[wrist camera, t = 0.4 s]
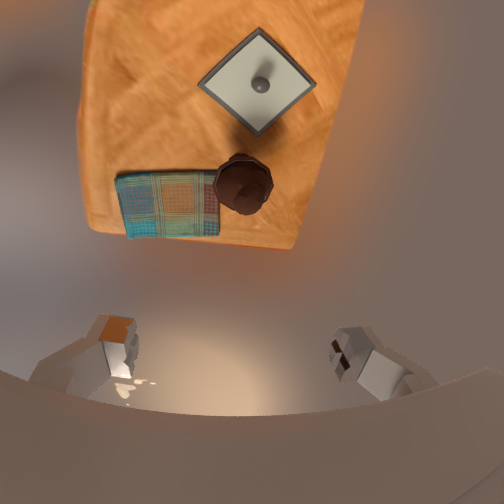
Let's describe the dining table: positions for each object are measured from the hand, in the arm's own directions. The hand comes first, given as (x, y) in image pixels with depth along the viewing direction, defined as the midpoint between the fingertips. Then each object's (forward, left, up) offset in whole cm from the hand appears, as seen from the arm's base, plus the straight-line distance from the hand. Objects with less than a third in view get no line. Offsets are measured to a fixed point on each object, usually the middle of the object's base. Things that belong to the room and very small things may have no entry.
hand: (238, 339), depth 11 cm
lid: (-7, +1, -48) cm, 49 cm away
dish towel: (+25, +6, -50) cm, 56 cm away
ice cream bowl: (+8, +11, -49) cm, 51 cm away
